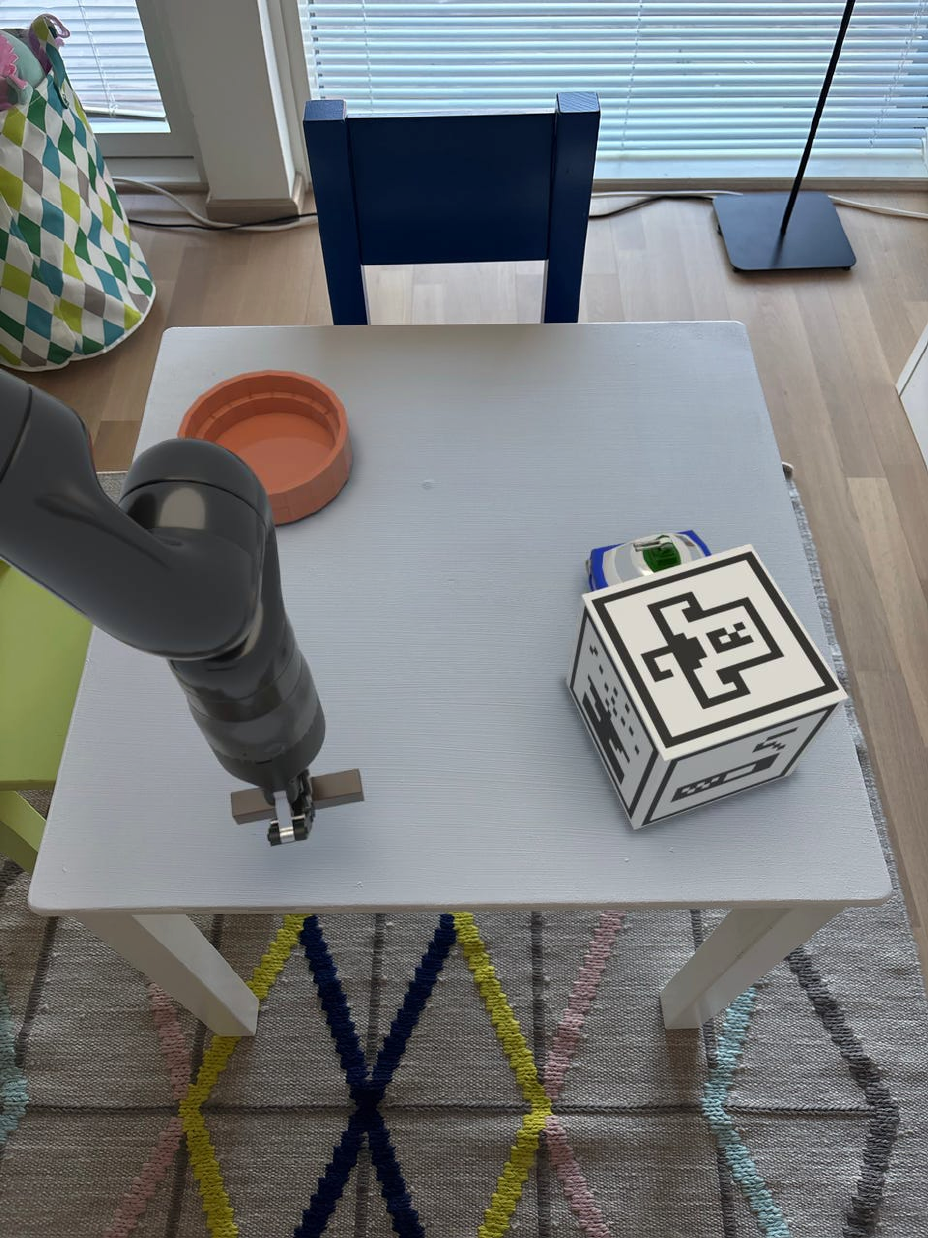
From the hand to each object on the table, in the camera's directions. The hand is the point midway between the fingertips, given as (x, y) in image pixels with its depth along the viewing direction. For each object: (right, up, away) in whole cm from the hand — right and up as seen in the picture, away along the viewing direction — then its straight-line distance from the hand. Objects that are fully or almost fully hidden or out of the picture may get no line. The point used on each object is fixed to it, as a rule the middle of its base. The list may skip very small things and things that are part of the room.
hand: (300, 801), depth 72 cm
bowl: (-8, +31, +28) cm, 43 cm away
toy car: (+31, +16, +18) cm, 40 cm away
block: (+32, +4, +11) cm, 34 cm away
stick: (0, 0, 0) cm, 0 cm away
